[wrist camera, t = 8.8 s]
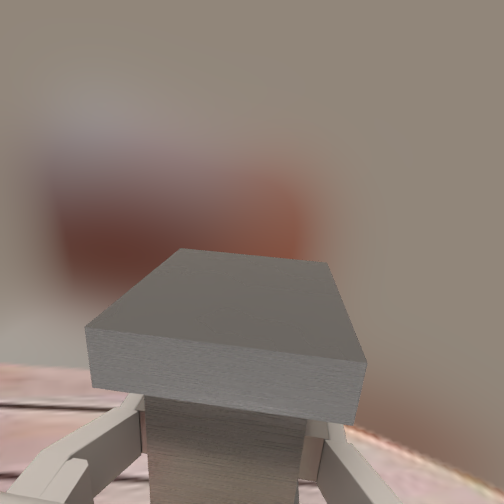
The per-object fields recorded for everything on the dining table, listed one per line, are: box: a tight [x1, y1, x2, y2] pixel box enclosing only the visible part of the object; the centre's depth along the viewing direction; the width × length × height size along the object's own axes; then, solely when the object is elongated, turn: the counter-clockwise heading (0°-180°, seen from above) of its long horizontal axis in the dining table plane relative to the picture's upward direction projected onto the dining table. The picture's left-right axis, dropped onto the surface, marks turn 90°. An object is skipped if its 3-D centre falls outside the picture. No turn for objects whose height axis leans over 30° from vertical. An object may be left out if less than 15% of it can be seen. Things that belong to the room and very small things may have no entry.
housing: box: [85, 248, 367, 504], centre depth 10 cm, size 6×6×11 cm
